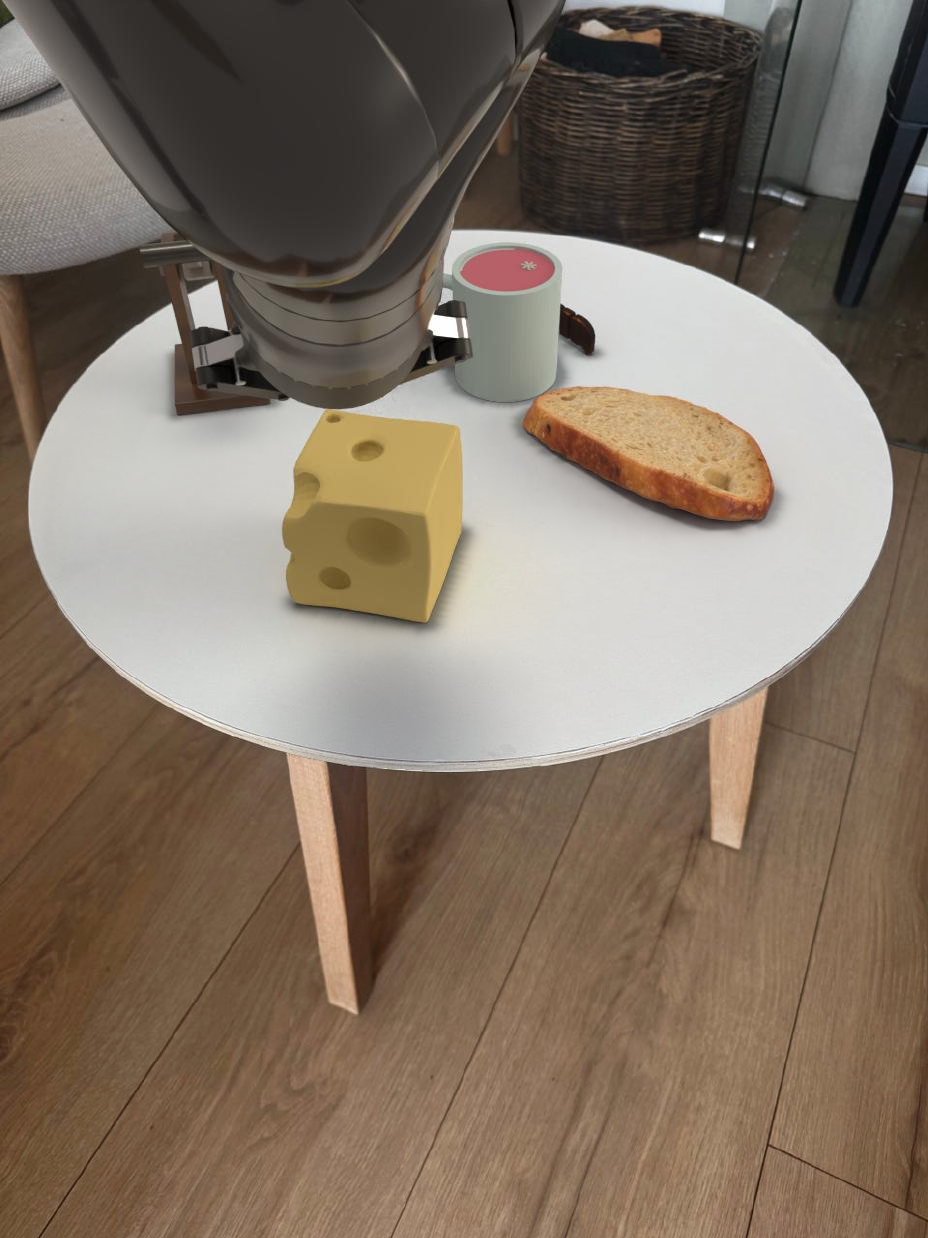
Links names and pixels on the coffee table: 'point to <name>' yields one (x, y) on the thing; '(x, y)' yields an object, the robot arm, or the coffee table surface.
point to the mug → (508, 319)
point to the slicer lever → (178, 258)
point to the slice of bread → (657, 449)
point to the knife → (577, 329)
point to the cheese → (374, 514)
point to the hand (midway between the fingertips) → (333, 388)
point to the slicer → (185, 375)
